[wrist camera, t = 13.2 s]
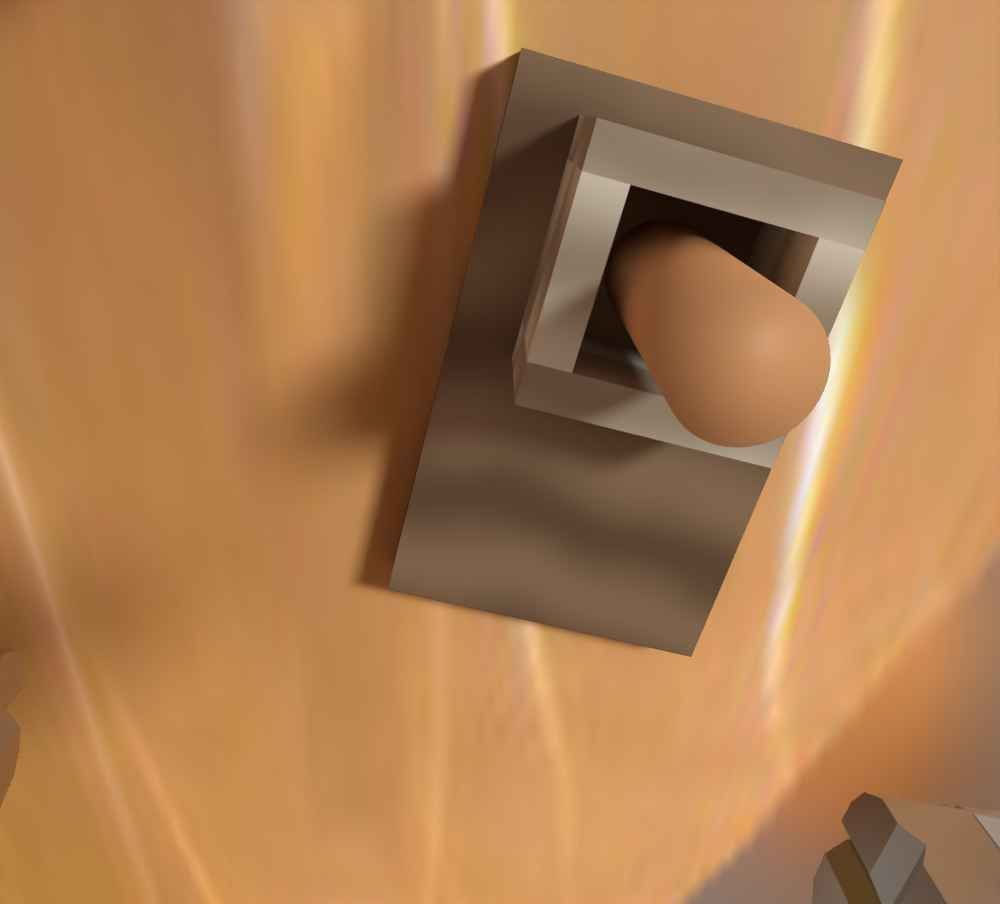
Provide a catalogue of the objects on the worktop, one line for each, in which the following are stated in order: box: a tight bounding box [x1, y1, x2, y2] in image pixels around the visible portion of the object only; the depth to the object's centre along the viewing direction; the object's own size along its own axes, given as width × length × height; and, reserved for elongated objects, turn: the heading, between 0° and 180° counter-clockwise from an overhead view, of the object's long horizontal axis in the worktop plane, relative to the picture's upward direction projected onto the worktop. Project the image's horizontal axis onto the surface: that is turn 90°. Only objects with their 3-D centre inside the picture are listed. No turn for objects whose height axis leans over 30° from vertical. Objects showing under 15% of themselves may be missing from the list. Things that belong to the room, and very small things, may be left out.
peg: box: [605, 219, 830, 448], centre depth 26 cm, size 4×4×12 cm
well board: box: [388, 48, 903, 657], centre depth 31 cm, size 22×14×8 cm, turn 165°
